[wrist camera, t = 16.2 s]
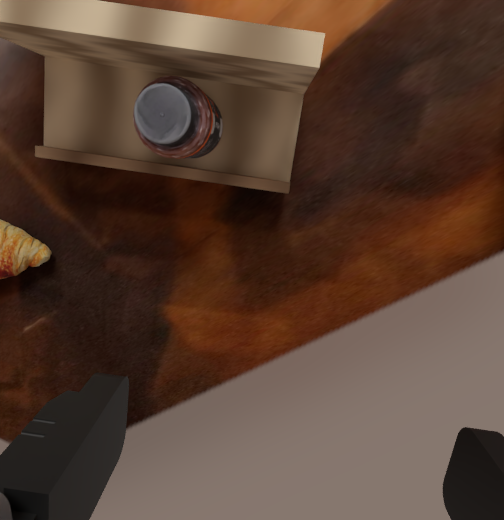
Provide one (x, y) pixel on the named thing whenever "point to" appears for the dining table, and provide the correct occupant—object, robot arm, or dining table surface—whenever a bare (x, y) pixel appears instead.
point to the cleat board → (159, 65)
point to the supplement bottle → (177, 119)
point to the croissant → (19, 250)
